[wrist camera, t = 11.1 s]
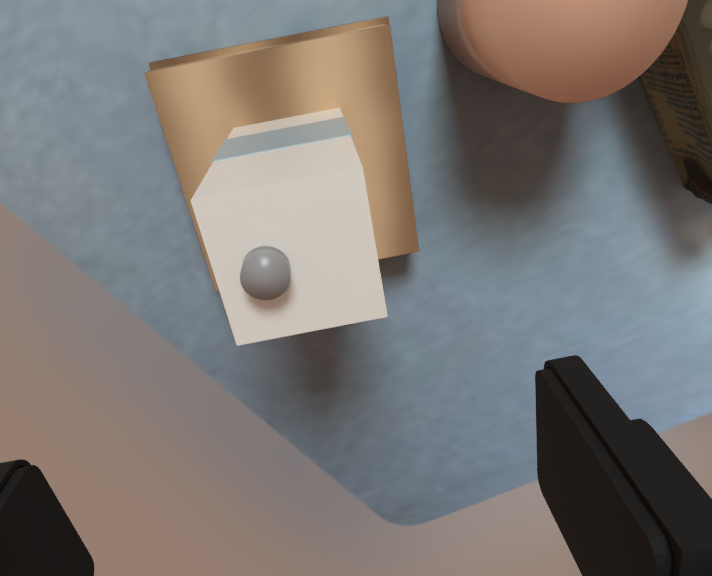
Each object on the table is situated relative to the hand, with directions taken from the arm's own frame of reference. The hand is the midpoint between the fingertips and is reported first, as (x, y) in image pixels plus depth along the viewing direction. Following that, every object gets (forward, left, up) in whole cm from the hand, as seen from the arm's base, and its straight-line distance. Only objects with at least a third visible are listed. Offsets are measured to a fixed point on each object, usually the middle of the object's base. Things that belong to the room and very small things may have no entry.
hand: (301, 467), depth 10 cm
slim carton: (0, 0, -21) cm, 21 cm away
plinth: (0, 0, -24) cm, 24 cm away
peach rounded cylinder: (-13, -7, -24) cm, 28 cm away
